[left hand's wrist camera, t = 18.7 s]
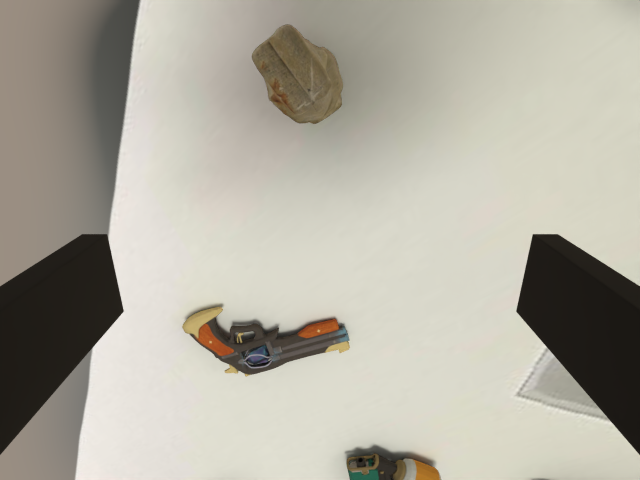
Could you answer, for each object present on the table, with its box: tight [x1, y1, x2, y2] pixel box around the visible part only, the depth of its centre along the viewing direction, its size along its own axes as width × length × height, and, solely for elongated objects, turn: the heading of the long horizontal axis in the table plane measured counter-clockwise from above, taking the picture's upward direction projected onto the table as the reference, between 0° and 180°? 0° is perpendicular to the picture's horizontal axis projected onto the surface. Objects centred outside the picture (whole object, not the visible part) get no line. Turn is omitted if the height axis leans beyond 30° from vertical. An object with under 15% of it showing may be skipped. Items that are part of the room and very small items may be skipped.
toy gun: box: [182, 307, 350, 376], centre depth 48 cm, size 3×19×10 cm
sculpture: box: [252, 24, 343, 124], centre depth 32 cm, size 6×7×15 cm
